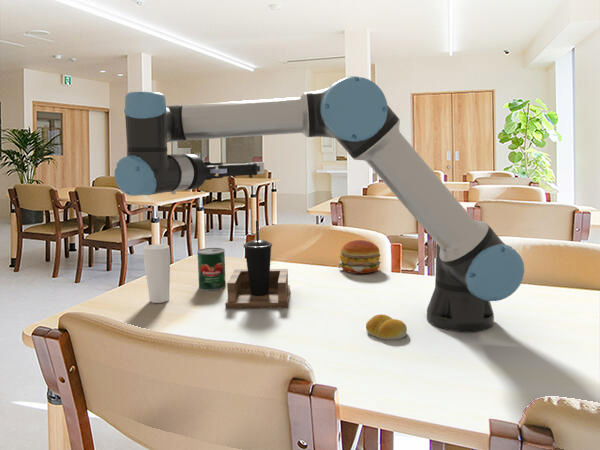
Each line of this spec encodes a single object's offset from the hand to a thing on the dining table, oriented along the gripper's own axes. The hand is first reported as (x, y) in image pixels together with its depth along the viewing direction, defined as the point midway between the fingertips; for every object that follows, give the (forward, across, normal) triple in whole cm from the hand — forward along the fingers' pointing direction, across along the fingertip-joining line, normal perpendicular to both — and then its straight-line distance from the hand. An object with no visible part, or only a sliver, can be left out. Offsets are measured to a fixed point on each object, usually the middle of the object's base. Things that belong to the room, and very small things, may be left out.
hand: (239, 167), depth 128 cm
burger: (+49, +12, -36) cm, 62 cm away
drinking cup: (+9, -1, -35) cm, 36 cm away
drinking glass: (-4, -25, -36) cm, 44 cm away
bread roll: (0, +38, -37) cm, 53 cm away
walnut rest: (+9, -1, -36) cm, 37 cm away
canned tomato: (+13, -20, -36) cm, 43 cm away
